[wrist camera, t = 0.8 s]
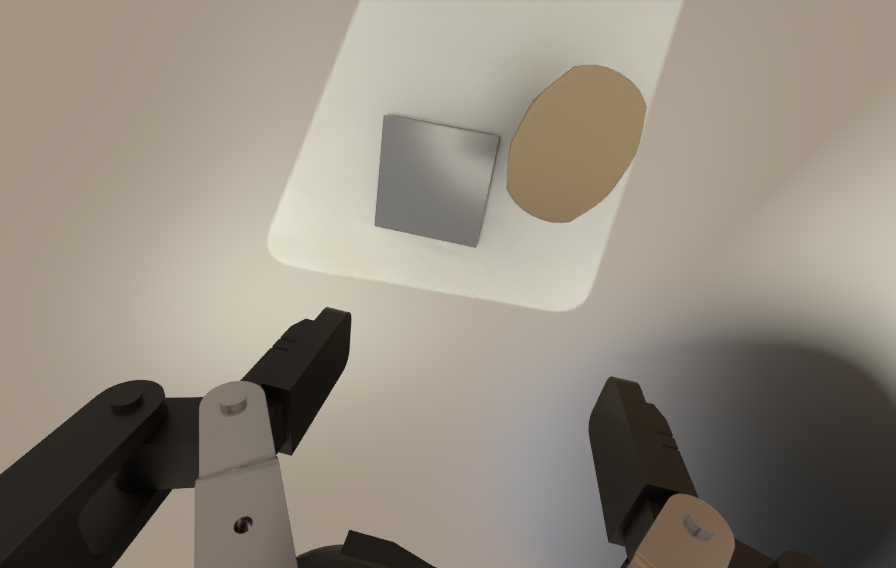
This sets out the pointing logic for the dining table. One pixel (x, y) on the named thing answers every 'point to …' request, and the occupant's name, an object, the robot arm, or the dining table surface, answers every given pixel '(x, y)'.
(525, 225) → the dining table surface
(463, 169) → the plate
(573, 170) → the handle
